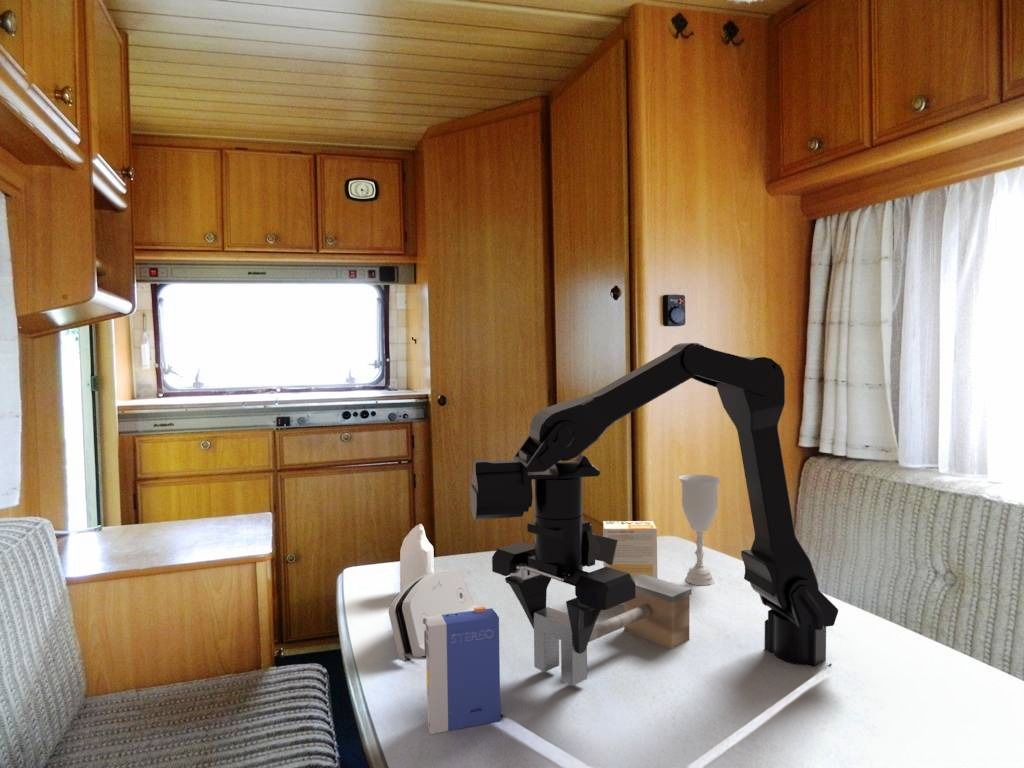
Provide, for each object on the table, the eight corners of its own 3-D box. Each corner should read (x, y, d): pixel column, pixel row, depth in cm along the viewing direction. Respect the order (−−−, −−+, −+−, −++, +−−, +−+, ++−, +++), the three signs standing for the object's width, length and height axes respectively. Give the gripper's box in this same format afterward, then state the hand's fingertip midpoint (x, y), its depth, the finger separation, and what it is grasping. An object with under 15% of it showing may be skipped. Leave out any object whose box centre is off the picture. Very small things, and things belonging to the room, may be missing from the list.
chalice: (670, 577, 121) (670, 476, 120) (700, 571, 124) (701, 473, 123) (698, 590, 114) (698, 483, 113) (729, 583, 117) (729, 480, 116)
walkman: (493, 709, 77) (492, 604, 76) (500, 721, 74) (499, 613, 74) (424, 721, 75) (422, 613, 74) (429, 734, 72) (427, 623, 71)
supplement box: (654, 600, 110) (654, 520, 109) (658, 612, 105) (657, 528, 104) (603, 599, 110) (602, 519, 110) (604, 610, 106) (603, 527, 105)
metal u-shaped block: (587, 678, 80) (586, 621, 80) (572, 685, 78) (572, 627, 78) (548, 660, 85) (548, 606, 84) (534, 667, 83) (533, 612, 83)
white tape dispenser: (431, 667, 87) (407, 591, 88) (402, 673, 89) (378, 599, 90) (487, 619, 103) (466, 555, 104) (461, 625, 105) (441, 562, 105)
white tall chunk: (391, 524, 113) (418, 518, 117) (393, 595, 113) (419, 586, 117) (414, 530, 109) (441, 523, 113) (415, 604, 109) (442, 595, 113)
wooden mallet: (641, 628, 99) (641, 573, 98) (691, 646, 92) (691, 588, 92) (555, 666, 87) (555, 605, 87) (605, 690, 81) (605, 624, 80)
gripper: (664, 516, 79) (665, 647, 80) (551, 492, 93) (552, 604, 94) (601, 534, 72) (602, 679, 72) (488, 505, 85) (490, 627, 86)
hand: (560, 643), depth 81 cm, fingers closed on metal u-shaped block, 6 cm apart
